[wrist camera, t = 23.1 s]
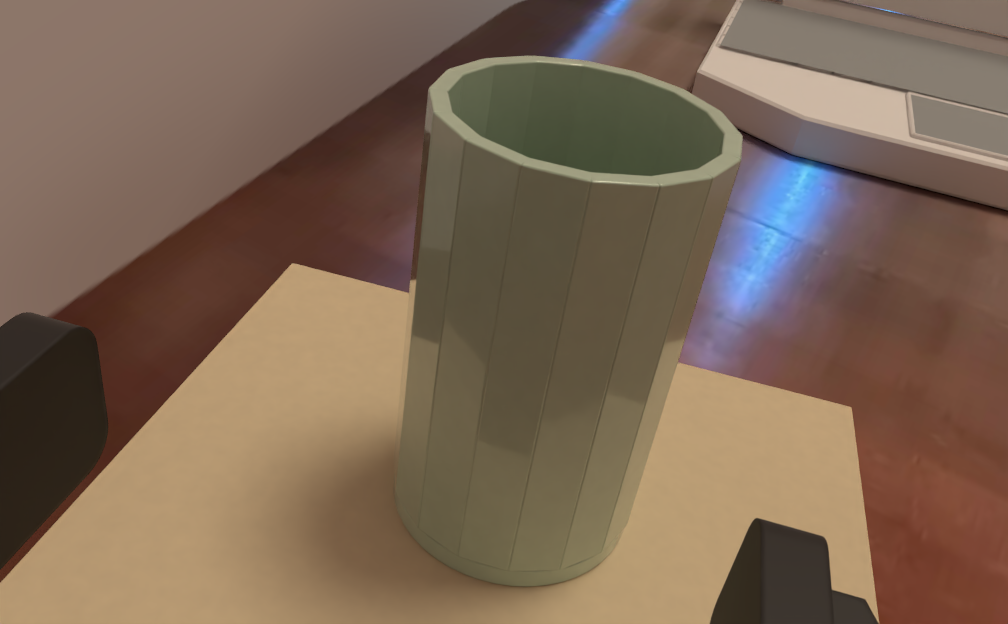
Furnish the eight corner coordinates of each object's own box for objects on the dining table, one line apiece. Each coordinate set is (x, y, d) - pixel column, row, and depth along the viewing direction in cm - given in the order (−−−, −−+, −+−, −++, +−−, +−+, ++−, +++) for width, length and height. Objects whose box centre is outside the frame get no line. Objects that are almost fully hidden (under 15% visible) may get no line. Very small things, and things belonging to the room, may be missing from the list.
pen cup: (356, 543, 22) (383, 132, 16) (435, 391, 27) (479, 36, 21) (607, 619, 21) (737, 215, 15) (639, 447, 27) (746, 95, 20)
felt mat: (-29, 629, 19) (-33, 617, 19) (292, 271, 32) (292, 262, 32) (911, 938, 17) (919, 928, 17) (847, 415, 30) (852, 406, 30)
